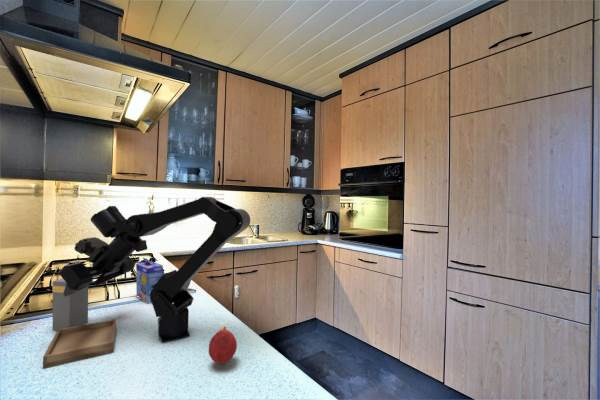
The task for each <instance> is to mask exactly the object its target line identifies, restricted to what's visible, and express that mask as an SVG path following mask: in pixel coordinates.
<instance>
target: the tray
mask: <svg viewBox="0 0 600 400" xmlns="http://www.w3.org/2000/svg"><path fill="white" fill-rule="evenodd" d="M116 329H117V319H116V318H113V319H109V320H108V319H107V320H104V321H103V320H102V321H97V322H92V323H91V322H90V323H86V324H84V325H80V326H74V327H68V328H63V329H58V330H57V331H55V332H56V333H54V336H53V338H52V340H51V341H50V344H49V346H48V347H47V349H46V351H45V353H44V355H43V357H42V369H47V368H53V367H56V366H57V367H58V366H60V365H61V366H62V365H64V364H65V365H66V364H69V363H73V362H77V361H83V360H86V359H92V358H96V357H100V356H103V355H108V354H112V353H114V349H115V341H116V333H117V332H116Z"/></svg>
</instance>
